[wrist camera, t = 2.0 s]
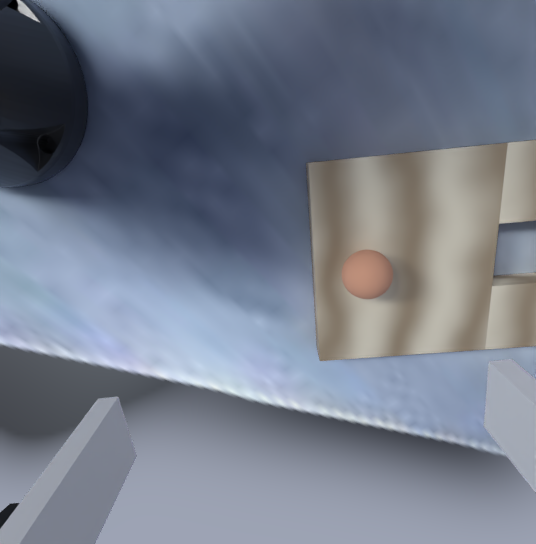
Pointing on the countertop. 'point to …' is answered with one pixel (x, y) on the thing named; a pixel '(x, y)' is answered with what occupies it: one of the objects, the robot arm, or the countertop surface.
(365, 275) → the ball
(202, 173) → the countertop surface
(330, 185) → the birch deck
